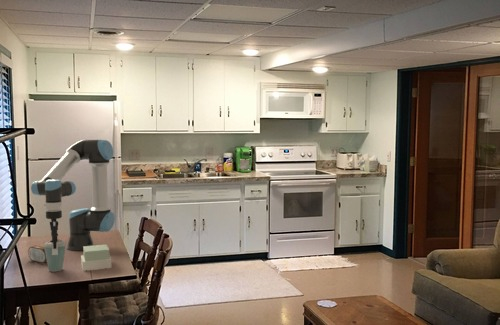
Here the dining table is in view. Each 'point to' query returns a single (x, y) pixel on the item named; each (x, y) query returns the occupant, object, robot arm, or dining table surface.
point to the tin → (37, 254)
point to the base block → (95, 264)
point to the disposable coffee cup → (55, 256)
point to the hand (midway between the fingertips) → (54, 251)
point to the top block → (96, 252)
